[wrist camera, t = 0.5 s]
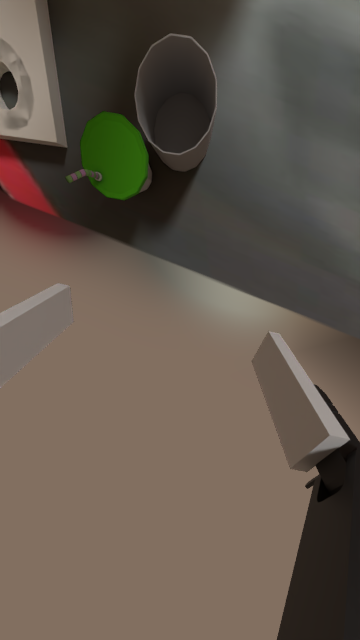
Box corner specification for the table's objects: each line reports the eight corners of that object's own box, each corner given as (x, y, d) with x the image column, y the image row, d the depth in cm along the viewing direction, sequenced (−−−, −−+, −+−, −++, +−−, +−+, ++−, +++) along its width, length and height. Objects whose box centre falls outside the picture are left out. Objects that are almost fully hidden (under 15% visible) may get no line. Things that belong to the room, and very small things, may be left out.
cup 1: (159, 139, 28) (125, 76, 15) (164, 201, 32) (141, 193, 19) (109, 145, 29) (36, 90, 16) (120, 205, 33) (69, 200, 20)
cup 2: (196, 180, 30) (197, 168, 21) (148, 158, 29) (127, 136, 21) (220, 109, 26) (232, 58, 17) (164, 81, 25) (147, 12, 16)
